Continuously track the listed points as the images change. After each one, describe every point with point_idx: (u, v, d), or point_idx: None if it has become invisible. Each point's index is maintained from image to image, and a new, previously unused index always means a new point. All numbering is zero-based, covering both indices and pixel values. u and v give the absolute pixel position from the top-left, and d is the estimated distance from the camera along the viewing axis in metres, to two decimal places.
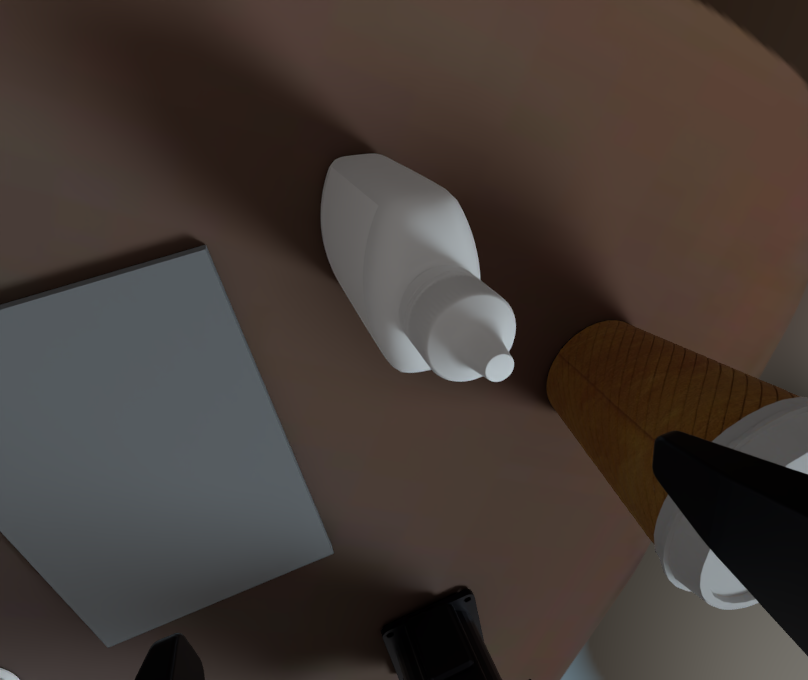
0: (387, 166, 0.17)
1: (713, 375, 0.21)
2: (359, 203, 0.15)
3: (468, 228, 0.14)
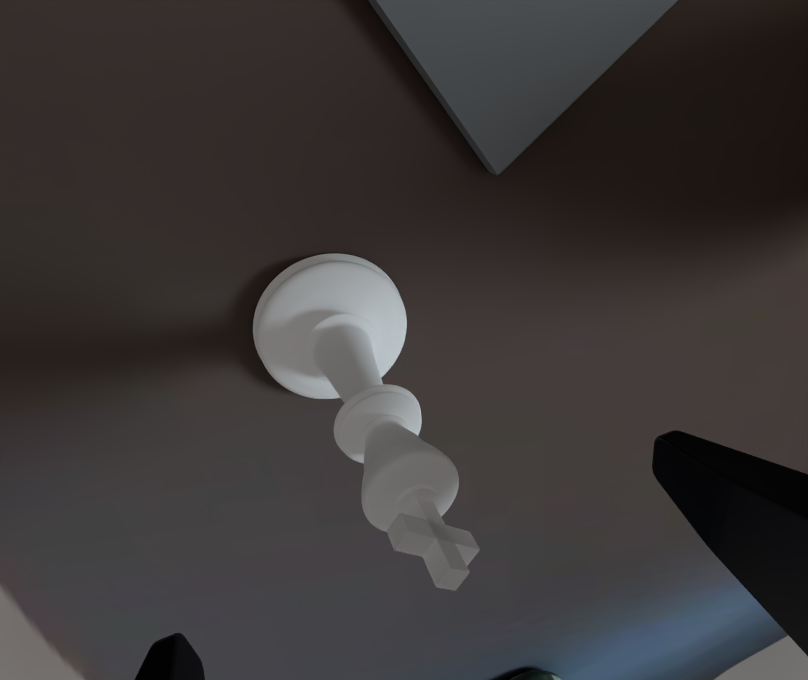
0: None
1: None
2: None
3: None
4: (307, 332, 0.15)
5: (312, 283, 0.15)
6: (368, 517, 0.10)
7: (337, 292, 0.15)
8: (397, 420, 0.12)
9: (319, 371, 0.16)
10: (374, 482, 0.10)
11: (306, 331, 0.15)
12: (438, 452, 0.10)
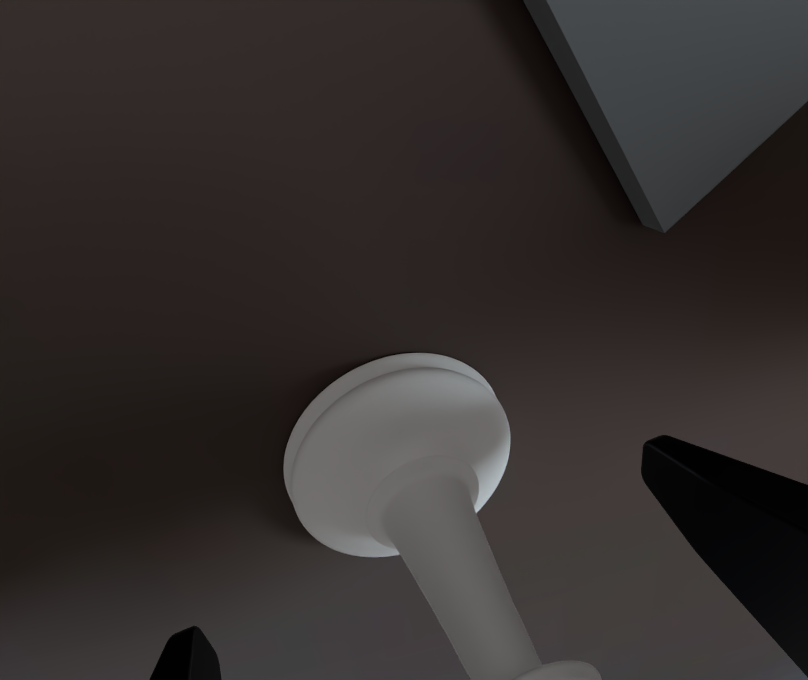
0: None
1: None
2: None
3: None
4: (371, 482, 0.10)
5: (381, 408, 0.10)
6: None
7: (418, 420, 0.10)
8: None
9: (388, 540, 0.10)
10: None
11: (369, 481, 0.10)
12: None
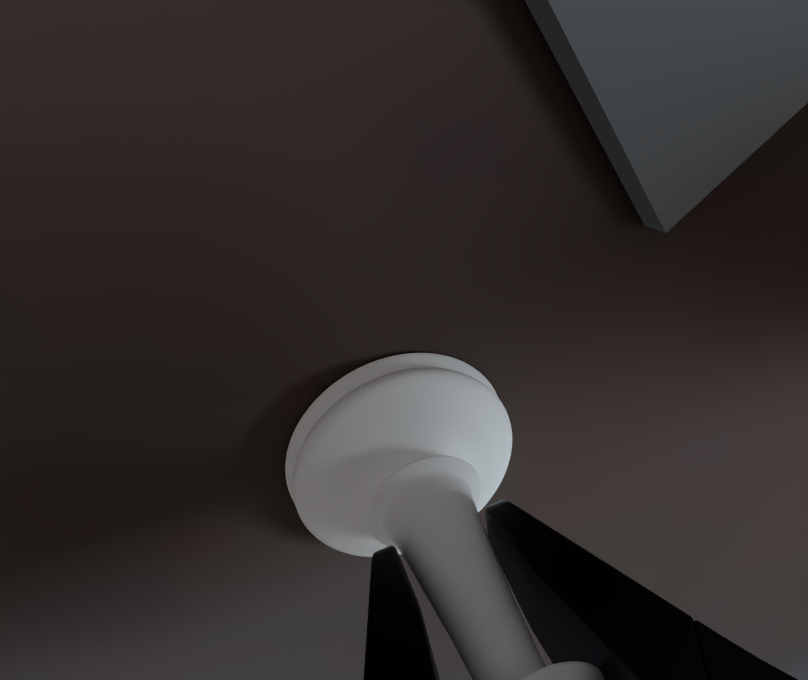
0: None
1: None
2: None
3: None
4: (373, 482, 0.10)
5: (383, 408, 0.10)
6: None
7: (421, 420, 0.10)
8: None
9: (390, 540, 0.10)
10: None
11: (371, 481, 0.10)
12: None
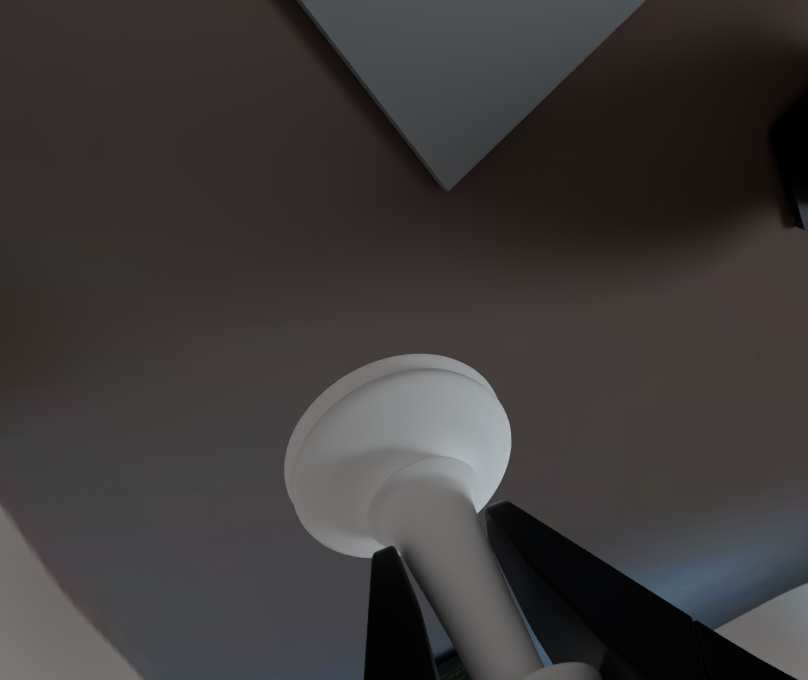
0: None
1: None
2: None
3: None
4: (372, 484, 0.10)
5: (382, 409, 0.10)
6: None
7: (420, 421, 0.10)
8: None
9: (390, 541, 0.10)
10: None
11: (369, 482, 0.10)
12: None
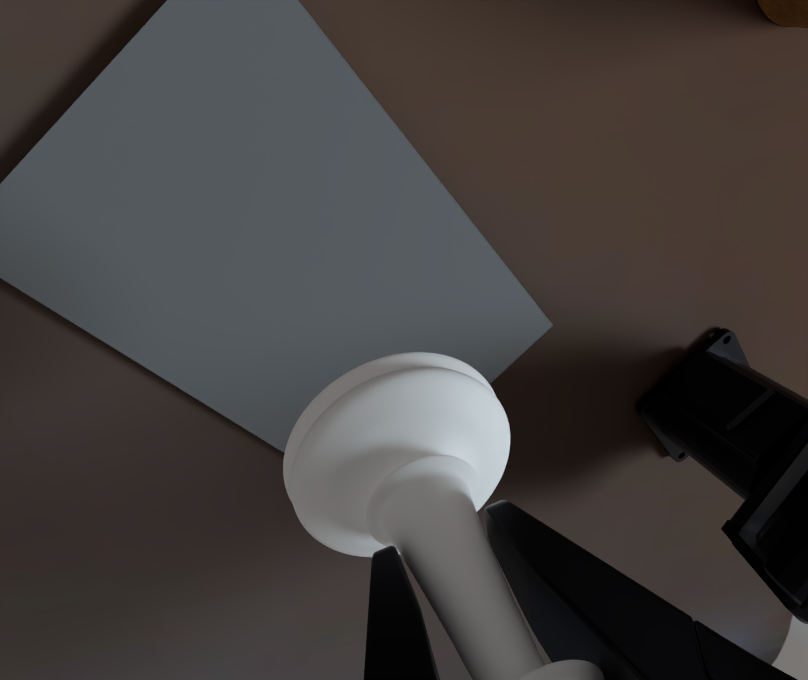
0: None
1: None
2: None
3: None
4: (372, 482, 0.10)
5: (381, 407, 0.09)
6: None
7: (419, 419, 0.10)
8: None
9: (389, 540, 0.10)
10: None
11: (369, 481, 0.10)
12: None
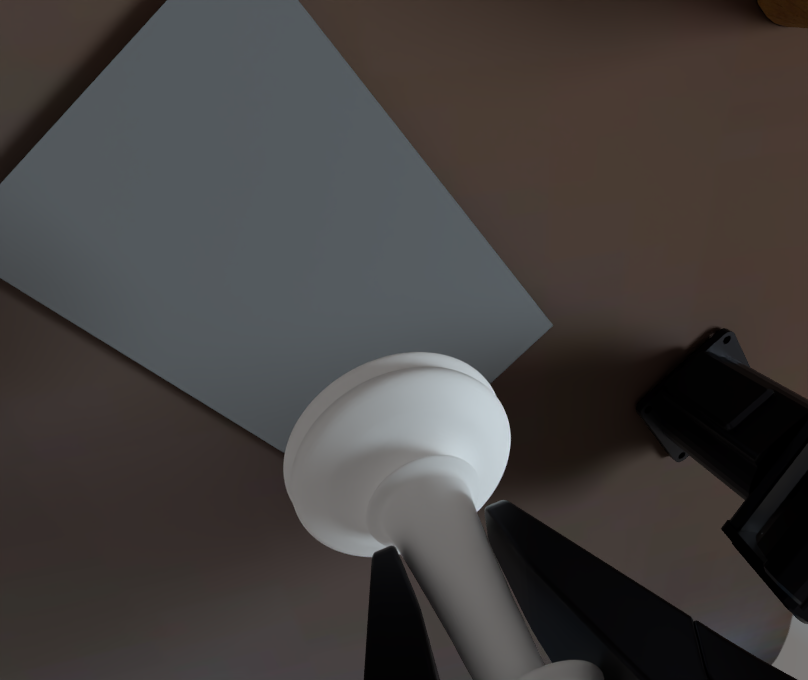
0: None
1: None
2: None
3: None
4: (372, 482, 0.10)
5: (381, 407, 0.09)
6: None
7: (419, 419, 0.10)
8: None
9: (389, 540, 0.10)
10: None
11: (369, 481, 0.10)
12: None
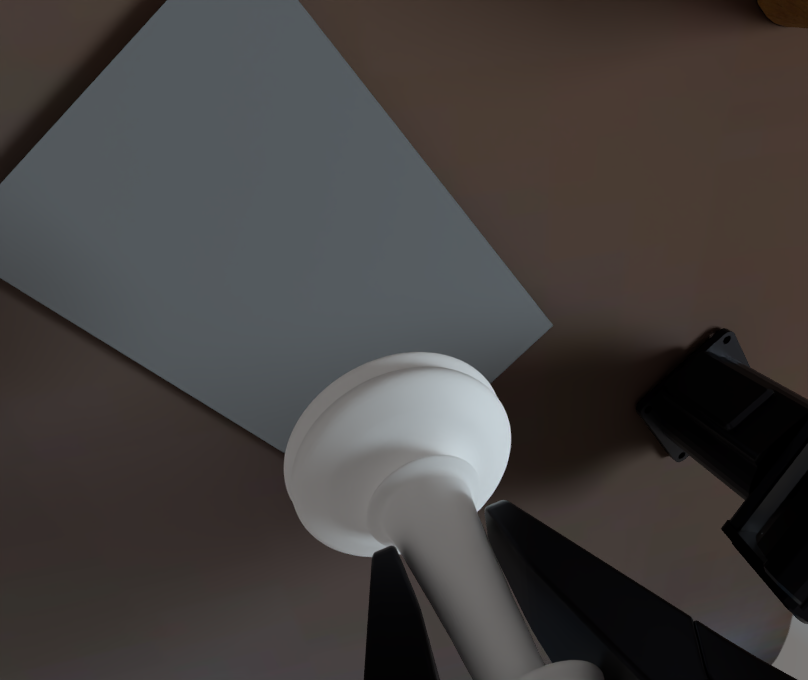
0: None
1: None
2: None
3: None
4: (372, 482, 0.10)
5: (381, 407, 0.09)
6: None
7: (420, 419, 0.10)
8: None
9: (389, 540, 0.10)
10: None
11: (369, 480, 0.10)
12: None
